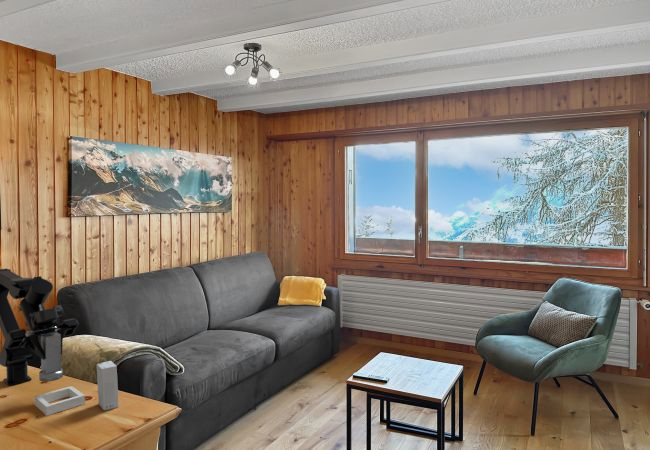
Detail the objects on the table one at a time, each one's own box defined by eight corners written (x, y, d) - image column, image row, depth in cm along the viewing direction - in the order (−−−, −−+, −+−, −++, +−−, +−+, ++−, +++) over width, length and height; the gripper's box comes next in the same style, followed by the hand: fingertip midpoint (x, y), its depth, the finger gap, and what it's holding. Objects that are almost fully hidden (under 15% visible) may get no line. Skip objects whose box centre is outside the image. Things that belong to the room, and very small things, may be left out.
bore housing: (34, 404, 133) (34, 396, 133) (71, 393, 140) (71, 385, 140) (46, 415, 126) (46, 406, 126) (85, 403, 134) (84, 395, 134)
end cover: (36, 377, 136) (35, 334, 135) (58, 372, 140) (58, 330, 139) (43, 383, 132) (42, 338, 131) (66, 377, 136) (65, 334, 135)
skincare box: (119, 407, 132) (118, 365, 131) (102, 411, 129) (101, 369, 128) (113, 399, 137) (112, 359, 136) (96, 404, 134) (96, 363, 133)
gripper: (7, 303, 129) (25, 350, 123) (75, 292, 144) (94, 333, 139) (-3, 326, 134) (14, 371, 128) (63, 313, 149) (81, 353, 144)
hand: (53, 356), depth 135 cm, fingers closed on end cover, 4 cm apart
